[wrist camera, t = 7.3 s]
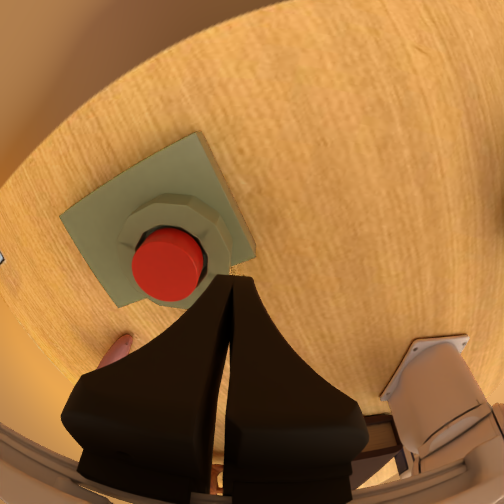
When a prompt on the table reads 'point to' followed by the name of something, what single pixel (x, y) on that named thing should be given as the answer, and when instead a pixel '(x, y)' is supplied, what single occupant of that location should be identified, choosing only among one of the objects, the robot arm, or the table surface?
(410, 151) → the table surface
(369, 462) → the book
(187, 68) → the table surface
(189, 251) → the button
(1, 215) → the table surface
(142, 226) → the olive button base
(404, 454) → the pill bottle
